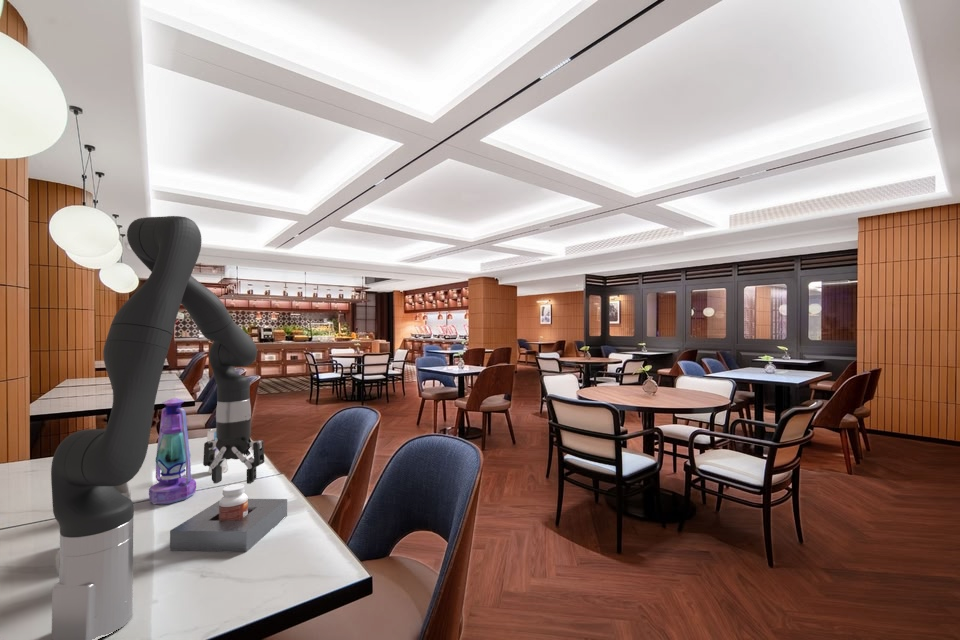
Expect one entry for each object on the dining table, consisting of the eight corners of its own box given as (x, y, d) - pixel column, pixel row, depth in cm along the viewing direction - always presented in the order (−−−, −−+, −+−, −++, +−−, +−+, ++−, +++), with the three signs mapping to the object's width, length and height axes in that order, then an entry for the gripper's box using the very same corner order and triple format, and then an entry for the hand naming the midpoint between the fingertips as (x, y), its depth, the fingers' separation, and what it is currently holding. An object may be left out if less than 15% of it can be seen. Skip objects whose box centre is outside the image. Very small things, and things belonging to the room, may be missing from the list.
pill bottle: (248, 533, 102) (248, 488, 102) (219, 540, 98) (219, 493, 99) (246, 523, 107) (246, 480, 107) (218, 530, 104) (218, 485, 104)
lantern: (136, 503, 120) (137, 400, 121) (176, 488, 132) (176, 394, 132) (169, 508, 117) (170, 402, 117) (207, 493, 128) (208, 396, 128)
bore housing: (246, 551, 93) (246, 531, 93) (169, 550, 94) (170, 530, 94) (287, 515, 111) (287, 499, 111) (222, 515, 112) (222, 498, 112)
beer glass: (208, 470, 149) (208, 428, 149) (230, 467, 152) (231, 426, 152) (204, 476, 142) (205, 432, 143) (228, 473, 145) (228, 430, 146)
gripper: (195, 421, 100) (195, 488, 100) (252, 421, 99) (252, 488, 99) (216, 414, 107) (216, 476, 107) (269, 414, 107) (270, 477, 107)
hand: (234, 482), depth 103 cm, fingers open, 8 cm apart
